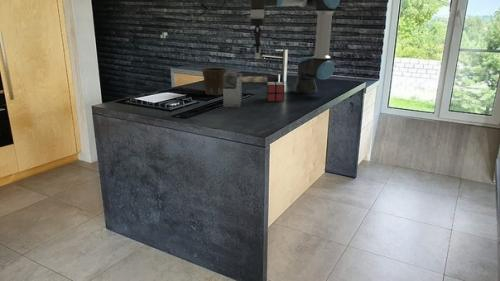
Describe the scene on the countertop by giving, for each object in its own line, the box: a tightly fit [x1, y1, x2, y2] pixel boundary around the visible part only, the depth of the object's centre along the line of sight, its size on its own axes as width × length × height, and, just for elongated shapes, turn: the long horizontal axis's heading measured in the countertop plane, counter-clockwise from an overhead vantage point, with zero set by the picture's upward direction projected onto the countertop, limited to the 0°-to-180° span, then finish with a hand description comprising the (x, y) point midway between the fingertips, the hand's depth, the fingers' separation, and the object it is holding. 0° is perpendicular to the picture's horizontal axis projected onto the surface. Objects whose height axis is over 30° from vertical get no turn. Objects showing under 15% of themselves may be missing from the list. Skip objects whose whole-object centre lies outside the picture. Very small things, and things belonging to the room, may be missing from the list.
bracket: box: [222, 72, 243, 108], centre depth 227 cm, size 10×19×16 cm, turn 179°
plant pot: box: [201, 67, 228, 96], centre depth 254 cm, size 16×16×16 cm
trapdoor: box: [223, 72, 268, 86], centre depth 226 cm, size 24×16×6 cm, turn 89°
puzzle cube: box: [266, 81, 285, 102], centre depth 238 cm, size 10×10×10 cm
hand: (257, 57), depth 222 cm, fingers open, 13 cm apart
